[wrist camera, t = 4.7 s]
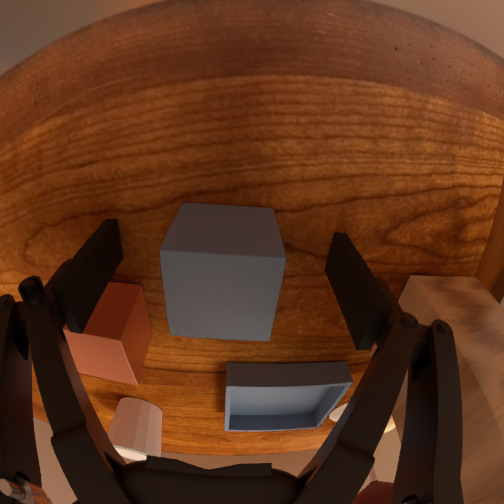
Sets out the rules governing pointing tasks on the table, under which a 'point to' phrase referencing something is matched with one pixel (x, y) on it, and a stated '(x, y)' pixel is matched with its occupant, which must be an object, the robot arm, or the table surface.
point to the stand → (467, 374)
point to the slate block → (222, 271)
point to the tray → (282, 394)
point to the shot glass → (136, 429)
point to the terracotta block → (114, 336)
